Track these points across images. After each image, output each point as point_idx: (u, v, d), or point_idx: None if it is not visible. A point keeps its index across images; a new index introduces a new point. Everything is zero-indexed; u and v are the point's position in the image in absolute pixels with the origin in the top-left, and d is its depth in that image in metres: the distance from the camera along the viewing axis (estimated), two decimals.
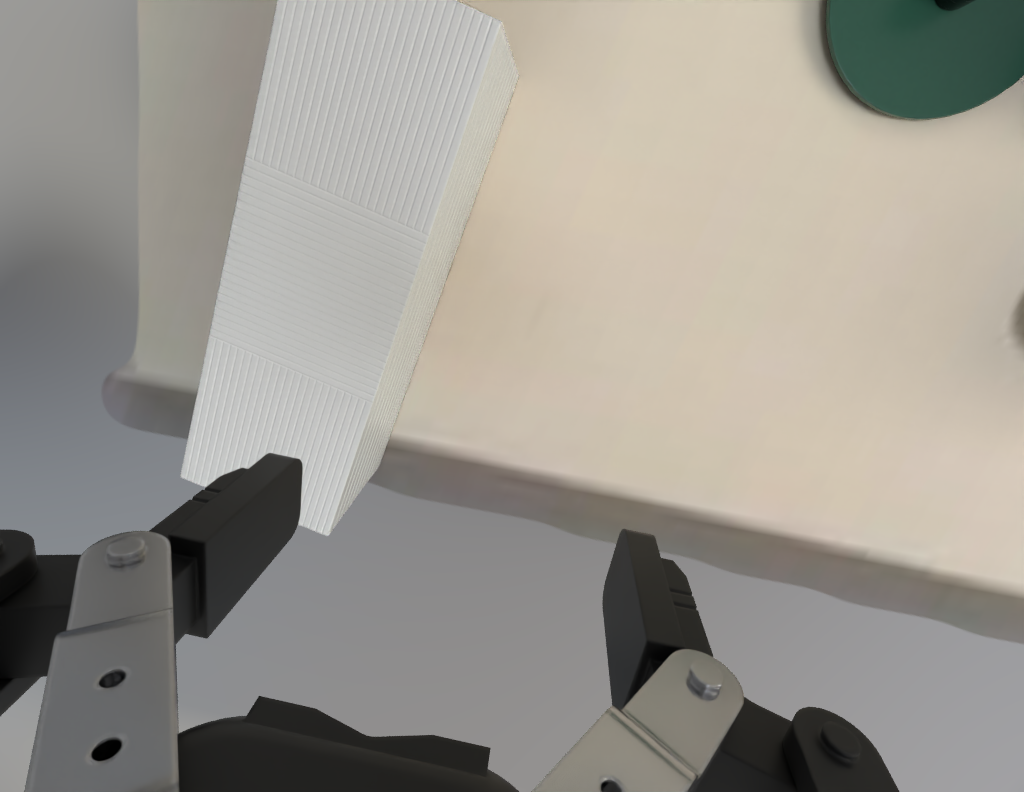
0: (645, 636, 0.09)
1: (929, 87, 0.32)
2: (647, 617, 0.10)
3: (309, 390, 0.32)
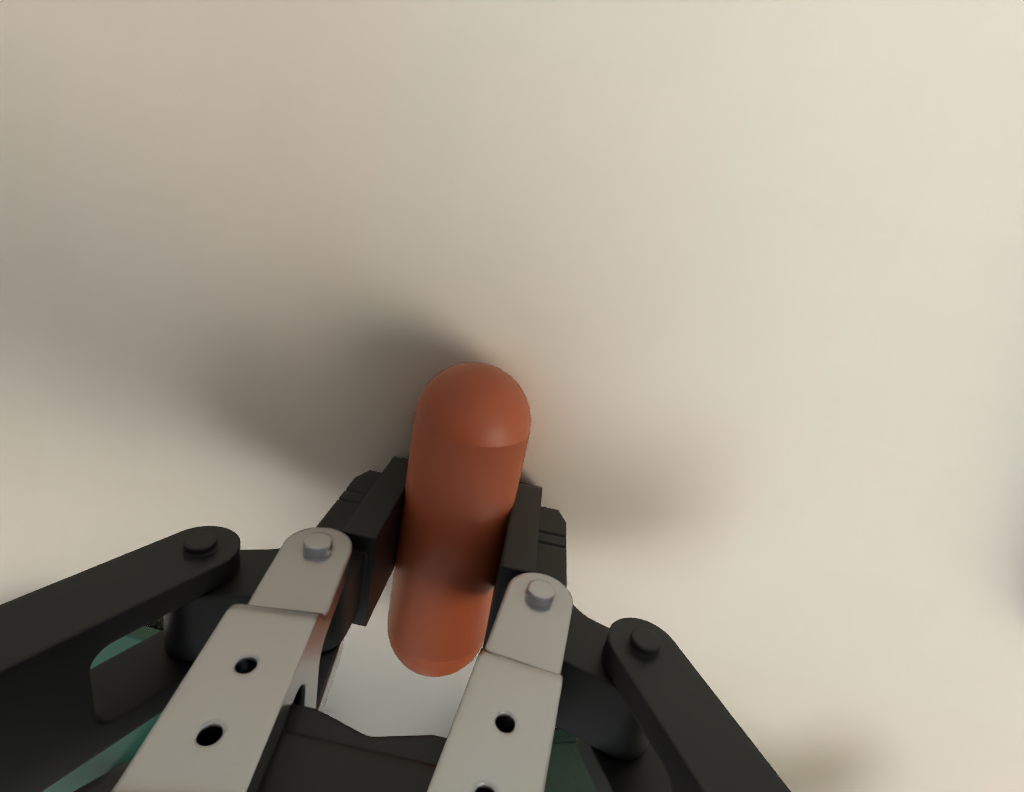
0: (501, 563, 0.10)
1: None
2: (509, 549, 0.11)
3: None
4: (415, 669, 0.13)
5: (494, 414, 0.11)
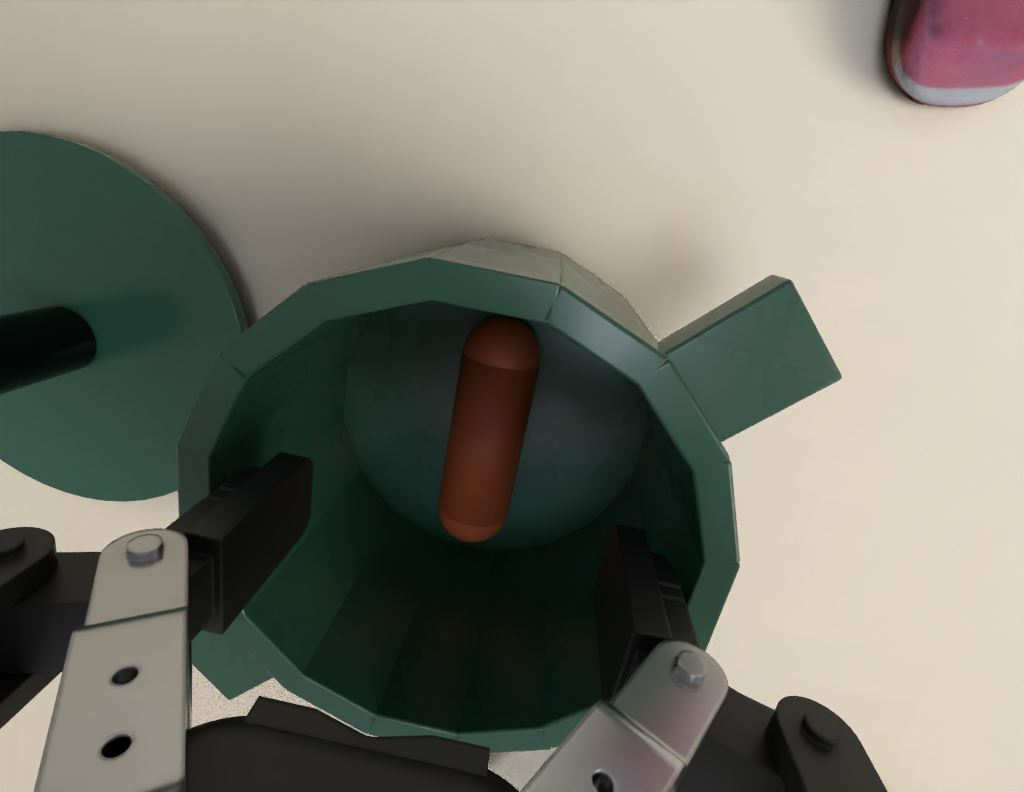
0: (632, 627, 0.09)
1: (99, 463, 0.21)
2: (635, 609, 0.10)
3: None
4: (459, 533, 0.18)
5: (517, 348, 0.16)
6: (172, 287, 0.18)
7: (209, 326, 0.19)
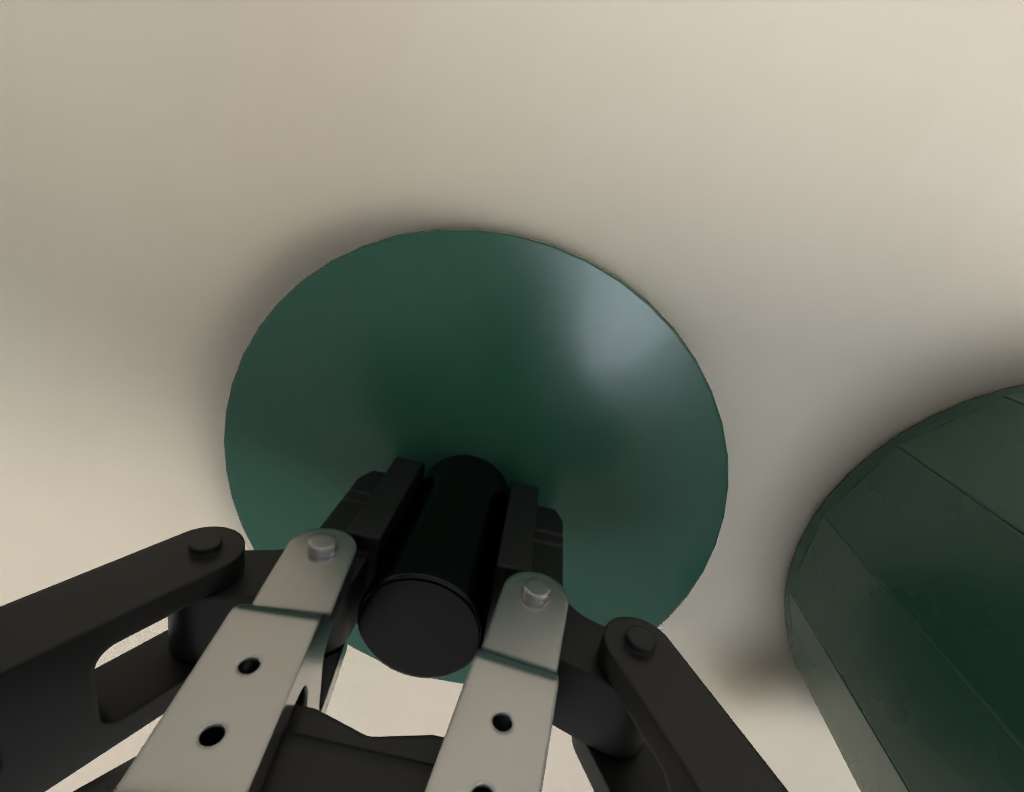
0: (497, 562, 0.10)
1: None
2: (505, 548, 0.11)
3: None
4: None
5: None
6: (644, 435, 0.13)
7: (682, 485, 0.14)
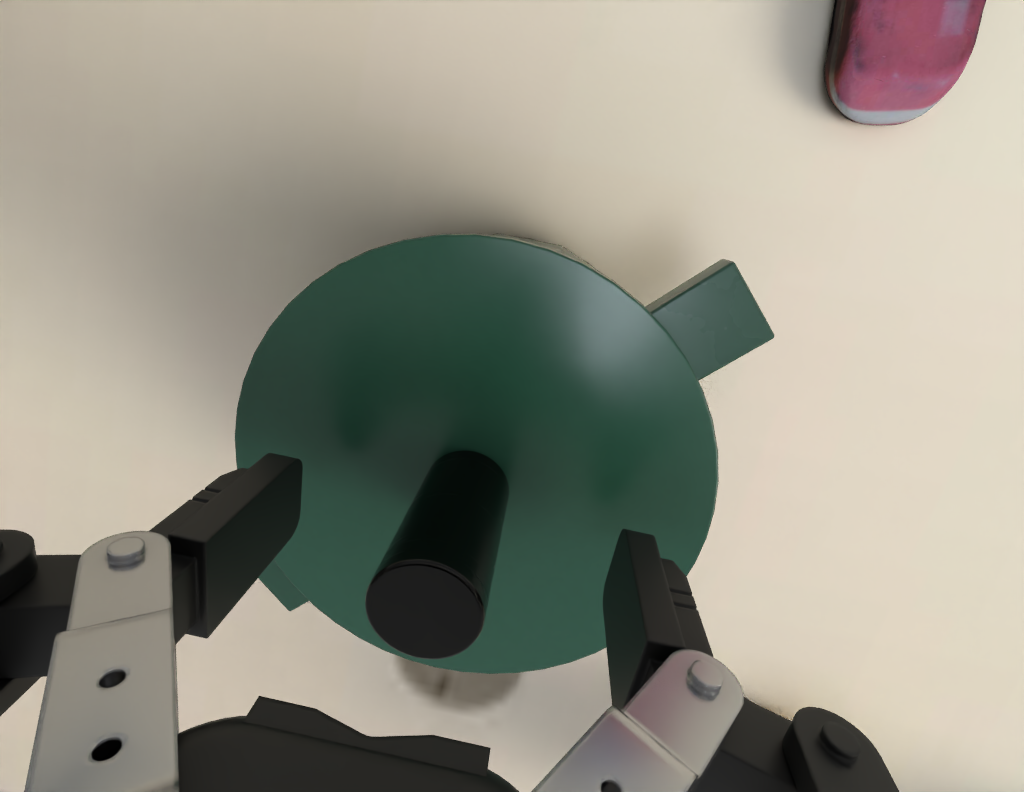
0: (646, 636, 0.09)
1: None
2: (647, 617, 0.10)
3: None
4: None
5: None
6: (637, 432, 0.14)
7: (674, 479, 0.14)
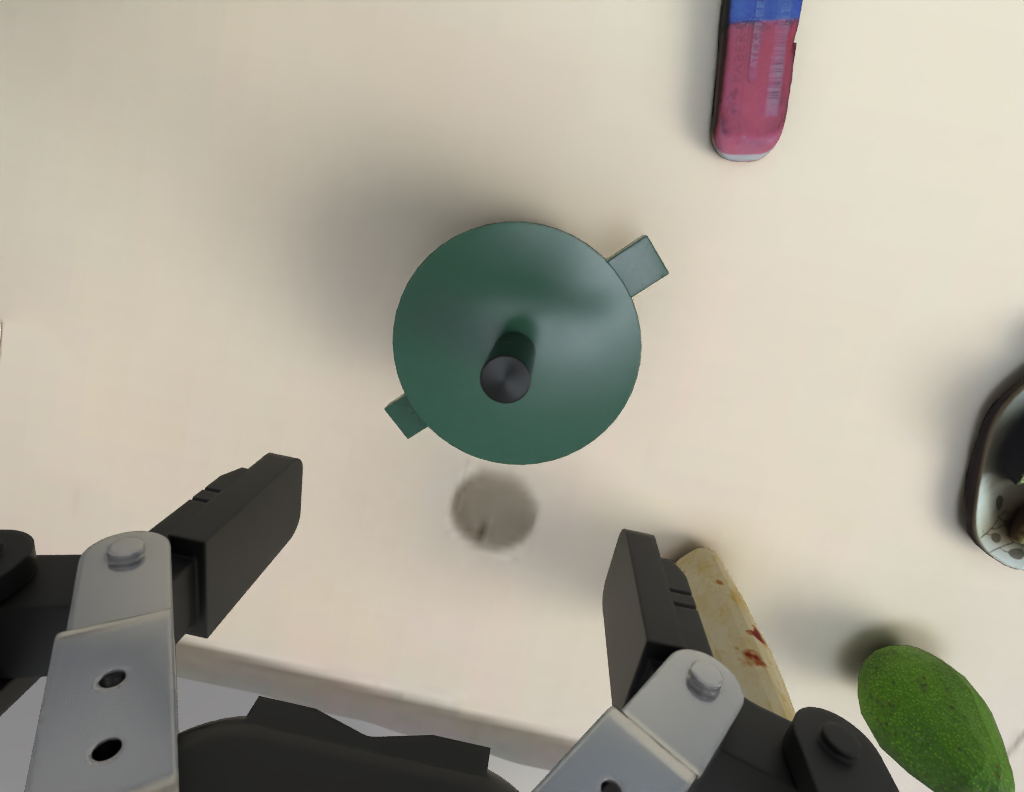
0: (645, 636, 0.09)
1: (511, 438, 0.31)
2: (647, 617, 0.10)
3: None
4: None
5: None
6: (600, 320, 0.28)
7: (619, 345, 0.28)
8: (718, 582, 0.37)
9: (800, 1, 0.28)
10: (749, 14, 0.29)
